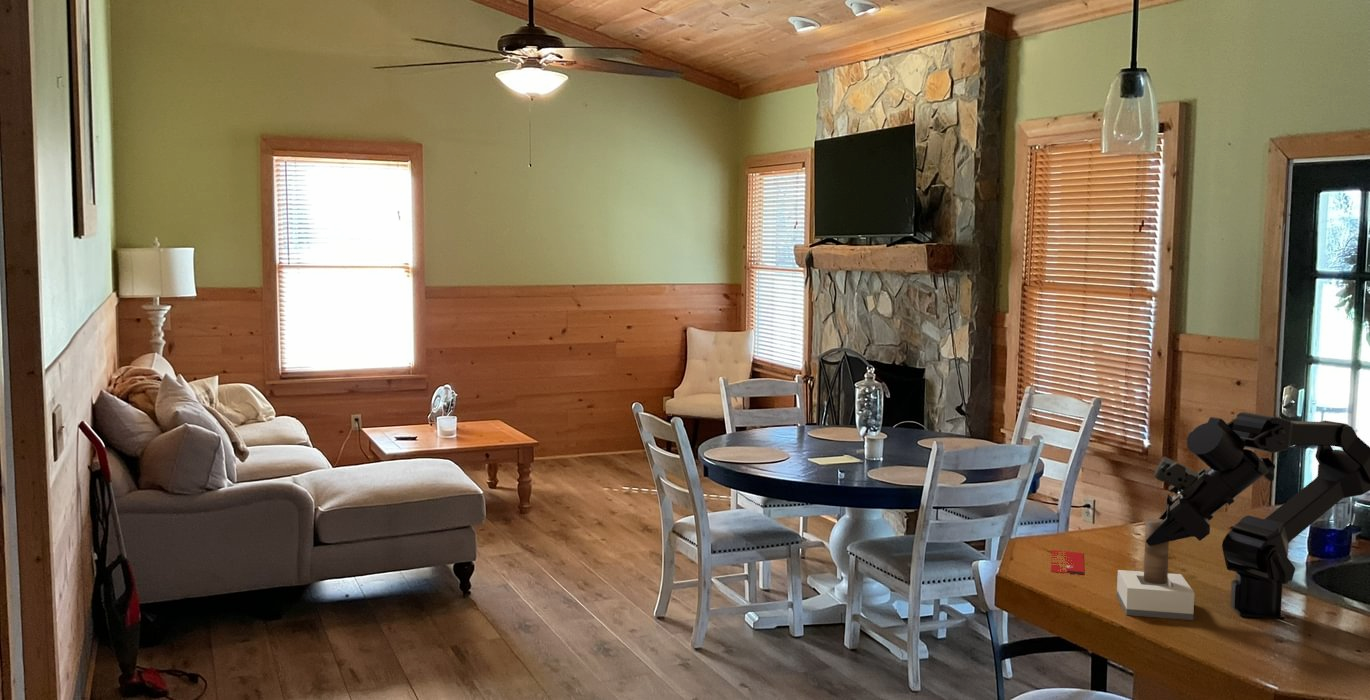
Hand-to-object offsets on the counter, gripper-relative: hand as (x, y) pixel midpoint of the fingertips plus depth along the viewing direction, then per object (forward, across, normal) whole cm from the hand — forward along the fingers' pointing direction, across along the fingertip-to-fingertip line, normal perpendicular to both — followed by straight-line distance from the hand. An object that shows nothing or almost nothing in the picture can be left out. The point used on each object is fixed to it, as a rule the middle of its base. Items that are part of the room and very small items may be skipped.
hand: (1147, 540), depth 177 cm
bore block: (+7, 0, +9) cm, 11 cm away
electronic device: (+18, -21, -1) cm, 28 cm away
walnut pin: (+4, 0, +6) cm, 7 cm away
